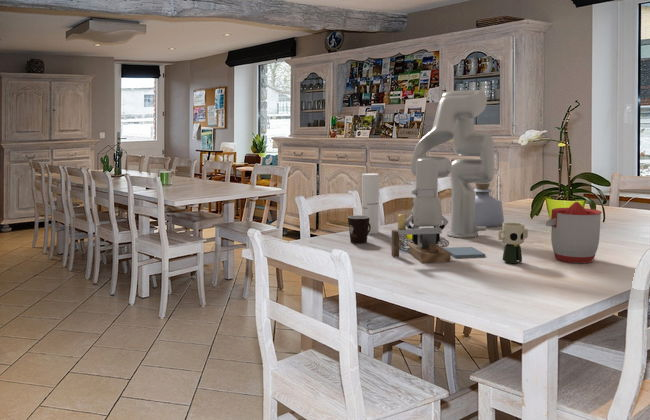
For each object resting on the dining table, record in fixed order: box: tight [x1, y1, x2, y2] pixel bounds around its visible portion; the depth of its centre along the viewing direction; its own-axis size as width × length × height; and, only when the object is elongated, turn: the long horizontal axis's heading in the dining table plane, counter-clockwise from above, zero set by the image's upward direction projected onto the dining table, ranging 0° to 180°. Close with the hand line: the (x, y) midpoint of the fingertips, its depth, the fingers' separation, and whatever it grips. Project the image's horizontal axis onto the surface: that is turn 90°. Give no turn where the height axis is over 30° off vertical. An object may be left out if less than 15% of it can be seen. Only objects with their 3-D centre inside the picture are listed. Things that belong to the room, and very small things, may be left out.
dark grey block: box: [417, 234, 436, 249], centre depth 217 cm, size 5×8×6 cm, turn 7°
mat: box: [442, 246, 486, 259], centre depth 220 cm, size 11×13×1 cm
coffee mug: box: [347, 214, 371, 245], centre depth 240 cm, size 12×9×10 cm
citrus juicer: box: [545, 201, 603, 264], centre depth 207 cm, size 16×17×20 cm
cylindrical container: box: [361, 172, 380, 235], centre depth 262 cm, size 7×7×25 cm
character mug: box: [497, 222, 529, 264], centre depth 205 cm, size 11×7×13 cm, turn 106°
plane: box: [391, 229, 452, 264], centre depth 217 cm, size 17×24×9 cm
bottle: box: [473, 182, 505, 228], centre depth 282 cm, size 20×20×19 cm
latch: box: [397, 213, 443, 236], centre depth 207 cm, size 15×3×7 cm, turn 97°
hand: (425, 243), depth 217 cm, fingers open, 6 cm apart
